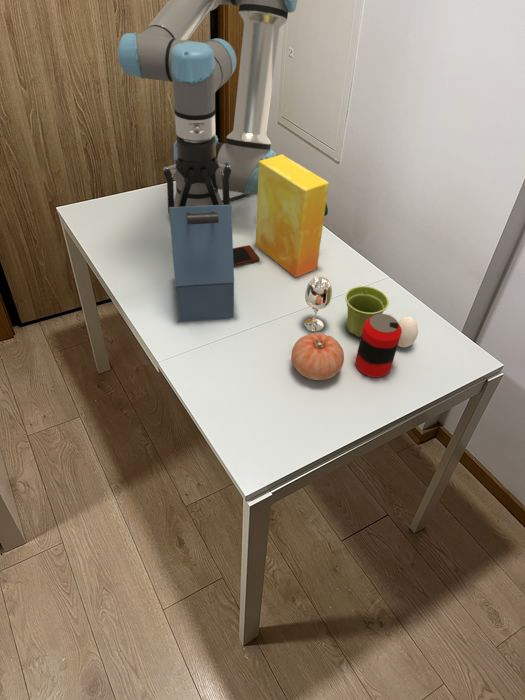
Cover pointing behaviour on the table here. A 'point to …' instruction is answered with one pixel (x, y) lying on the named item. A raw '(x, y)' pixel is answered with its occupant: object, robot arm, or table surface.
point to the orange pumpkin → (317, 356)
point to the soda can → (378, 345)
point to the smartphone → (244, 255)
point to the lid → (202, 244)
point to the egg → (407, 331)
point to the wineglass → (317, 300)
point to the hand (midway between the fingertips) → (200, 240)
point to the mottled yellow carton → (290, 214)
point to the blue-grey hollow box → (205, 302)
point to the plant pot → (363, 306)
